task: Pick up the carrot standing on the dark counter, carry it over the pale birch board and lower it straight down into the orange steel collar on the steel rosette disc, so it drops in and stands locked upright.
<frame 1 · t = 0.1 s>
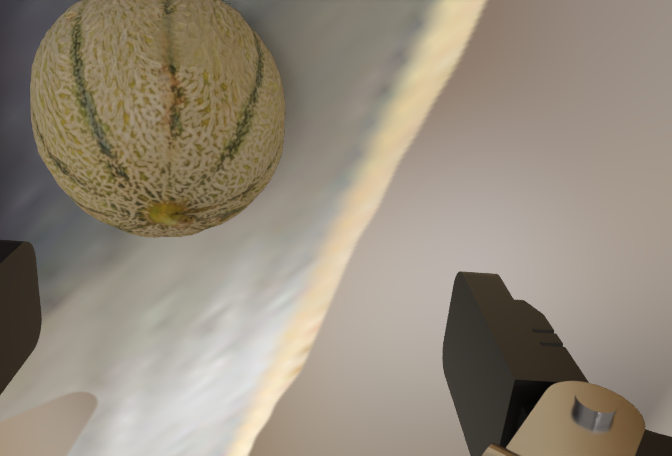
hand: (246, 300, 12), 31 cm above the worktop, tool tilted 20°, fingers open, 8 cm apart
cantaloupe: (186, 53, 43), on the worktop
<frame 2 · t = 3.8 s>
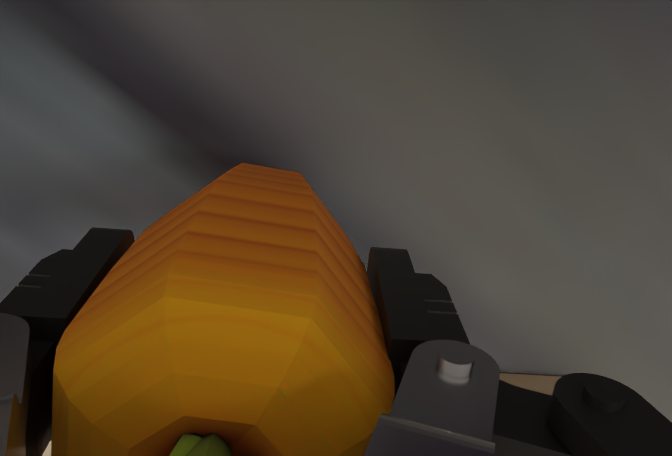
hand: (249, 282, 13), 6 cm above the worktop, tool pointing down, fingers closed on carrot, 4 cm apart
carrot: (270, 187, 18), on the worktop, touching gripper
when the fingers open (9 cm above the worktop, at t = 9.9 s): carrot drops 1 cm, resting on socket collar.
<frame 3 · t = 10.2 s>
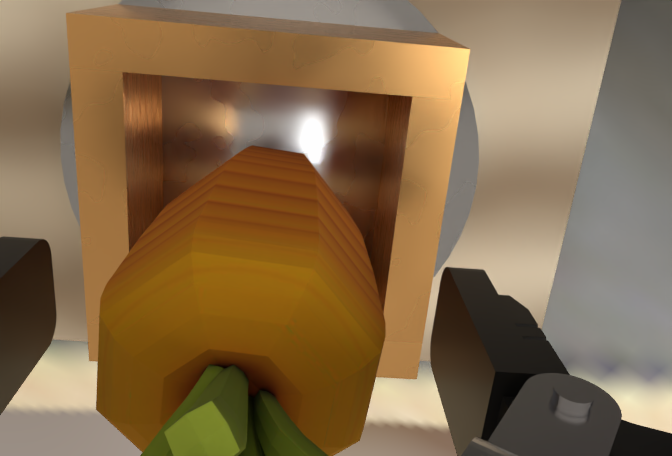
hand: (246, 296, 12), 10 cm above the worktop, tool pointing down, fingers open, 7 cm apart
base board: (275, 156, 22), on the worktop
socket collar: (268, 189, 18), on the base board, point 4 cm above the worktop
carrot: (277, 169, 20), point 2 cm above the worktop, touching socket collar
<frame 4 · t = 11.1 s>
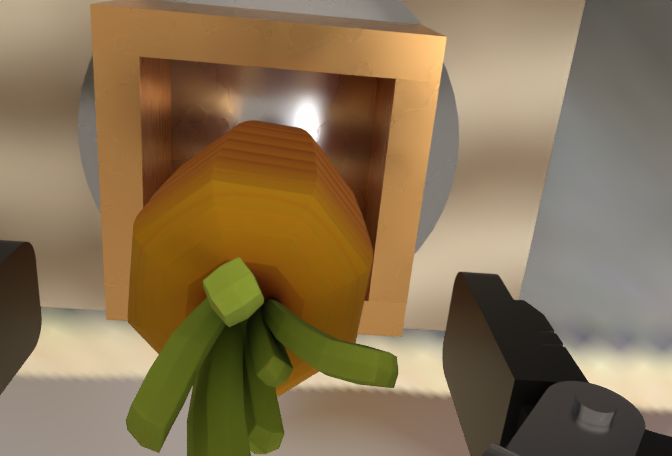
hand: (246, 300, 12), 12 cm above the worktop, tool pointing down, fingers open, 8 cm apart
base board: (274, 138, 23), on the worktop
socket collar: (268, 165, 20), on the base board, point 4 cm above the worktop
carrot: (275, 149, 22), point 2 cm above the worktop, touching socket collar
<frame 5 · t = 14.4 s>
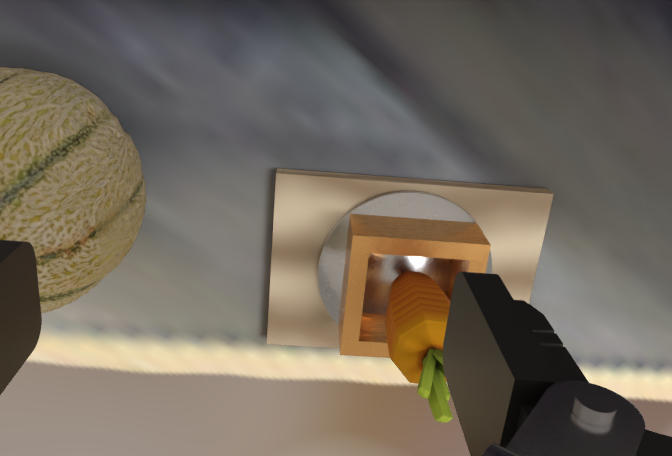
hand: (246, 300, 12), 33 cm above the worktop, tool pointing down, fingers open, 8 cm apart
base board: (402, 265, 49), on the worktop
socket collar: (408, 286, 46), on the base board, point 4 cm above the worktop
carrot: (406, 274, 47), point 2 cm above the worktop, touching socket collar
cantaloupe: (63, 158, 45), on the worktop
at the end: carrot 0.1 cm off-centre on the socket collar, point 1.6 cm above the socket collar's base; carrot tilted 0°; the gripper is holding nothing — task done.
